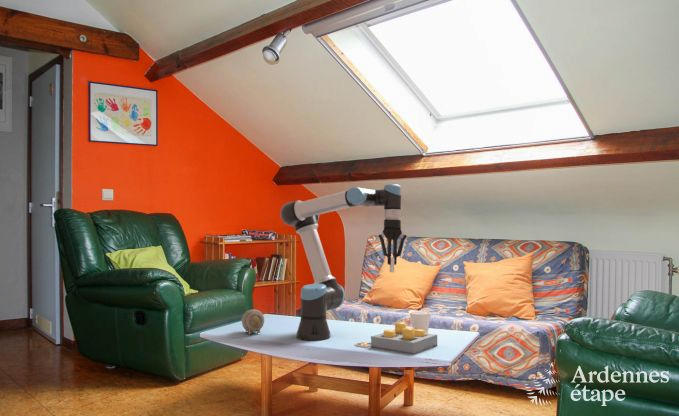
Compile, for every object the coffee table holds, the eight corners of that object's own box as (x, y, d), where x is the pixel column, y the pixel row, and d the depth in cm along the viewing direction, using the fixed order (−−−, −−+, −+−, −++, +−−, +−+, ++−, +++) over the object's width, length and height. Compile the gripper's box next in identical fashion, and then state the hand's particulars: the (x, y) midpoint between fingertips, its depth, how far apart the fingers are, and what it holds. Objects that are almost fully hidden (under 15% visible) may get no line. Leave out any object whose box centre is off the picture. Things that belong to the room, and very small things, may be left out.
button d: (411, 342, 217) (411, 330, 217) (417, 340, 221) (417, 328, 221) (421, 344, 214) (421, 331, 215) (427, 342, 218) (427, 330, 218)
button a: (381, 343, 216) (381, 331, 216) (387, 341, 219) (387, 329, 220) (391, 344, 213) (391, 332, 213) (397, 342, 216) (397, 330, 217)
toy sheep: (246, 337, 235) (246, 312, 235) (237, 330, 250) (237, 307, 251) (268, 335, 239) (268, 311, 240) (258, 329, 255) (259, 306, 255)
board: (371, 347, 215) (371, 336, 215) (396, 339, 231) (396, 329, 231) (413, 354, 203) (413, 342, 203) (437, 345, 219) (437, 334, 219)
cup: (416, 333, 243) (416, 310, 243) (435, 336, 237) (435, 312, 237) (405, 337, 235) (405, 312, 236) (424, 340, 229) (424, 314, 229)
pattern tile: (354, 345, 218) (354, 343, 218) (362, 343, 222) (362, 341, 222) (366, 347, 214) (366, 345, 214) (374, 345, 219) (374, 343, 219)
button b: (400, 341, 210) (400, 328, 210) (406, 339, 214) (406, 327, 214) (410, 342, 207) (410, 330, 207) (416, 340, 211) (416, 328, 211)
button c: (392, 335, 223) (392, 323, 223) (398, 333, 227) (398, 321, 227) (402, 336, 220) (402, 324, 220) (408, 334, 224) (408, 323, 224)
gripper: (379, 218, 228) (379, 272, 227) (408, 219, 230) (408, 272, 229) (376, 219, 236) (375, 271, 235) (404, 219, 237) (404, 271, 236)
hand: (391, 272), depth 232 cm, fingers closed
